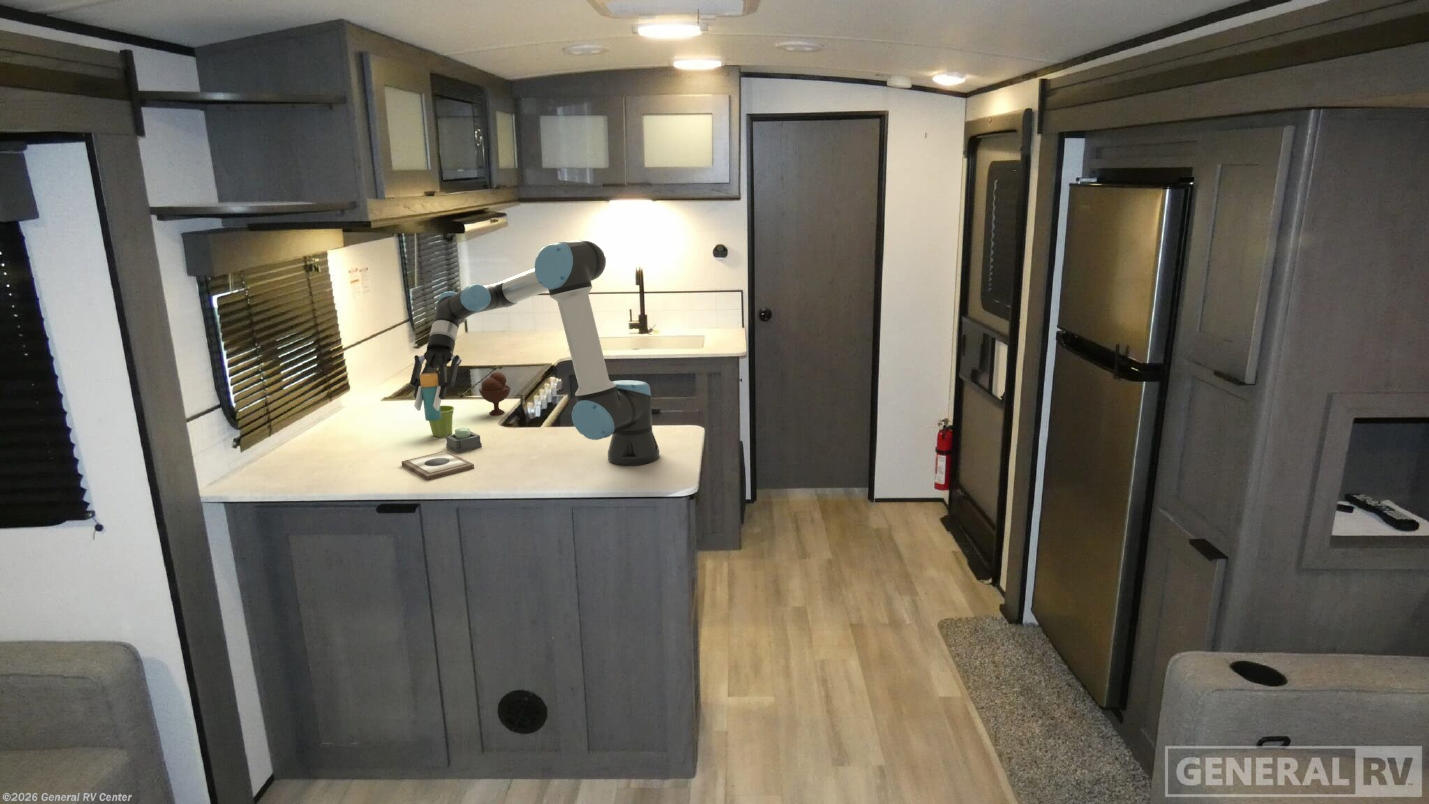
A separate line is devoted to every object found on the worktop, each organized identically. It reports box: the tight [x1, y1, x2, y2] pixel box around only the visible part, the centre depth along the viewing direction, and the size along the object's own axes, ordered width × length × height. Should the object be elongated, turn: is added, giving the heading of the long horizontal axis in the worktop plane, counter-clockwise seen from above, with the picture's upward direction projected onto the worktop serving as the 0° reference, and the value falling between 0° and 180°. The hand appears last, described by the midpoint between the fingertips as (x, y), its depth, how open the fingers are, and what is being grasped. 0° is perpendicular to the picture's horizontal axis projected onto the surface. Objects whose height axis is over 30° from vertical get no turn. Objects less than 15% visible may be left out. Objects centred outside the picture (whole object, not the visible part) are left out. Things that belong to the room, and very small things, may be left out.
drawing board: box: [400, 450, 475, 481], centre depth 248 cm, size 18×14×2 cm
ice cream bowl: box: [478, 371, 511, 417], centre depth 301 cm, size 11×11×15 cm
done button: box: [454, 427, 471, 440], centre depth 265 cm, size 4×4×3 cm
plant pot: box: [424, 405, 455, 438], centre depth 278 cm, size 9×9×9 cm
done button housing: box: [445, 431, 483, 453], centre depth 265 cm, size 8×8×4 cm
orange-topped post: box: [420, 372, 441, 422], centre depth 243 cm, size 5×5×13 cm
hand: (426, 408), depth 240 cm, fingers closed on orange-topped post, 5 cm apart
